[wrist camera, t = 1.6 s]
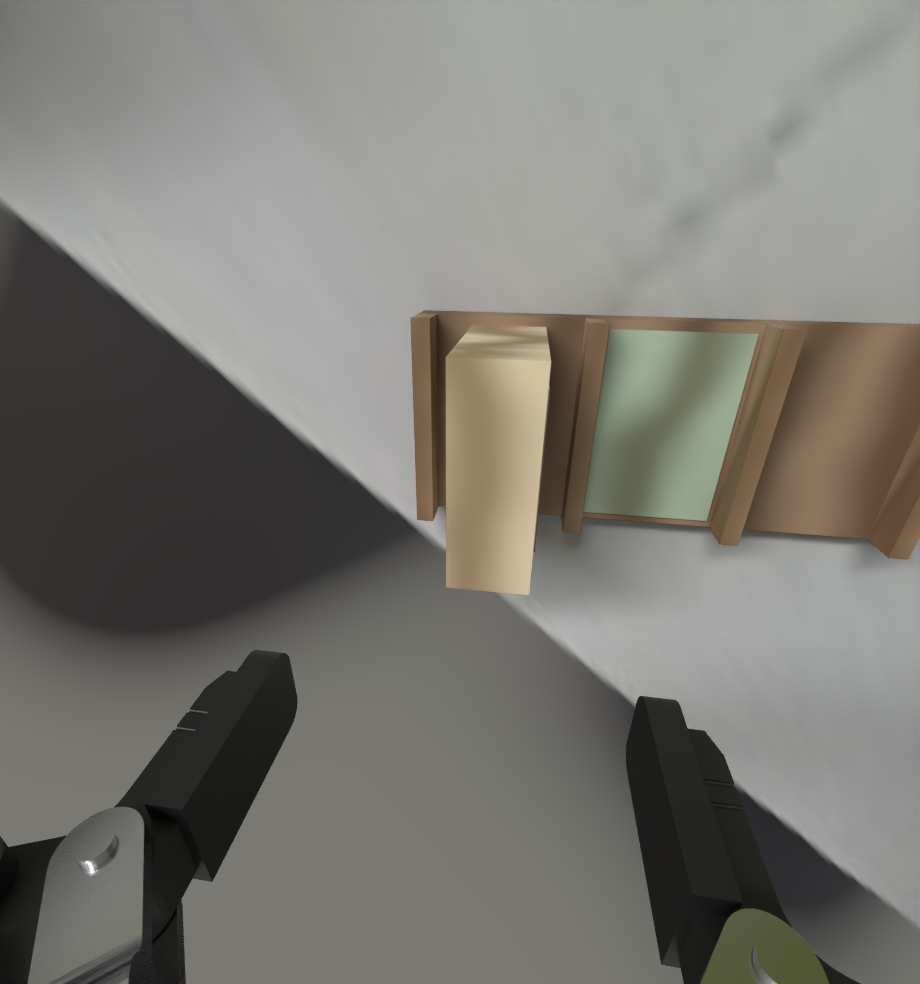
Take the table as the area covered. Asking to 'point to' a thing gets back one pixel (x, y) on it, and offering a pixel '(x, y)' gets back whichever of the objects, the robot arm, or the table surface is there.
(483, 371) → the tall beige wooden block
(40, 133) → the table surface
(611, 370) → the notched rack
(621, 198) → the table surface
